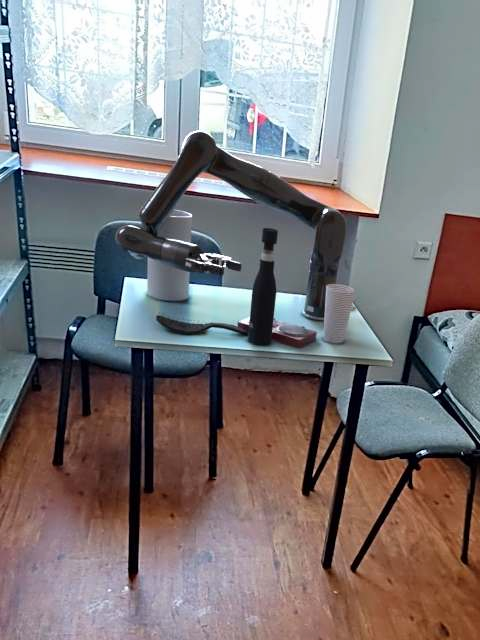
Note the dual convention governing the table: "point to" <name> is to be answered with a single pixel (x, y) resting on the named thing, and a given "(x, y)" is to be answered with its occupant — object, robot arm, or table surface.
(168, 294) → the cylinder vase
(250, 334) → the water bottle
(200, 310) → the table surface
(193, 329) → the hairbrush
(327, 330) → the cup
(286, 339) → the hot plate
